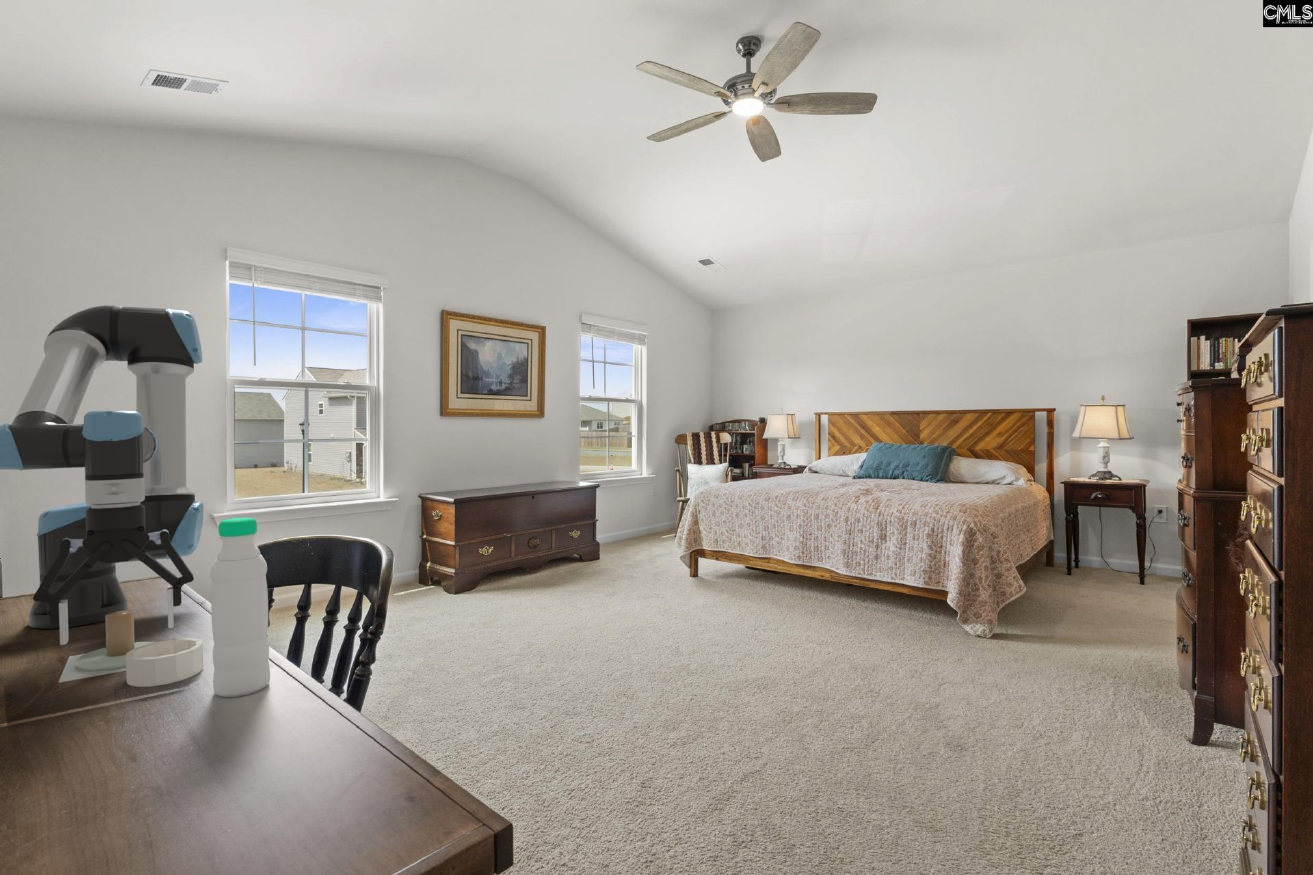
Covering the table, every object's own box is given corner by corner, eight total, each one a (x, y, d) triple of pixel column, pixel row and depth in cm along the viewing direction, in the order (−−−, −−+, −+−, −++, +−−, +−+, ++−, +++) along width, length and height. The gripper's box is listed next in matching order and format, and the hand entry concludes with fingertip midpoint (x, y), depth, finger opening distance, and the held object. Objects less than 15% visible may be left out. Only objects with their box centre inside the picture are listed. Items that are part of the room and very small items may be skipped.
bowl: (128, 674, 103) (127, 646, 103) (201, 660, 109) (201, 634, 109) (125, 694, 96) (124, 663, 95) (204, 678, 101) (203, 649, 101)
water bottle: (203, 693, 96) (198, 521, 95) (252, 676, 102) (247, 514, 101) (231, 702, 92) (226, 524, 92) (280, 684, 99) (276, 517, 98)
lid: (80, 656, 110) (78, 612, 110) (162, 643, 117) (161, 600, 117) (72, 676, 101) (71, 628, 101) (162, 660, 108) (161, 615, 108)
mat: (69, 658, 110) (69, 656, 110) (173, 641, 119) (173, 639, 119) (58, 684, 99) (58, 682, 99) (173, 663, 108) (173, 661, 108)
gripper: (5, 514, 98) (10, 656, 98) (208, 500, 113) (212, 624, 113) (14, 509, 104) (19, 643, 104) (206, 497, 119) (209, 614, 119)
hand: (119, 634), depth 109 cm, fingers open, 13 cm apart
